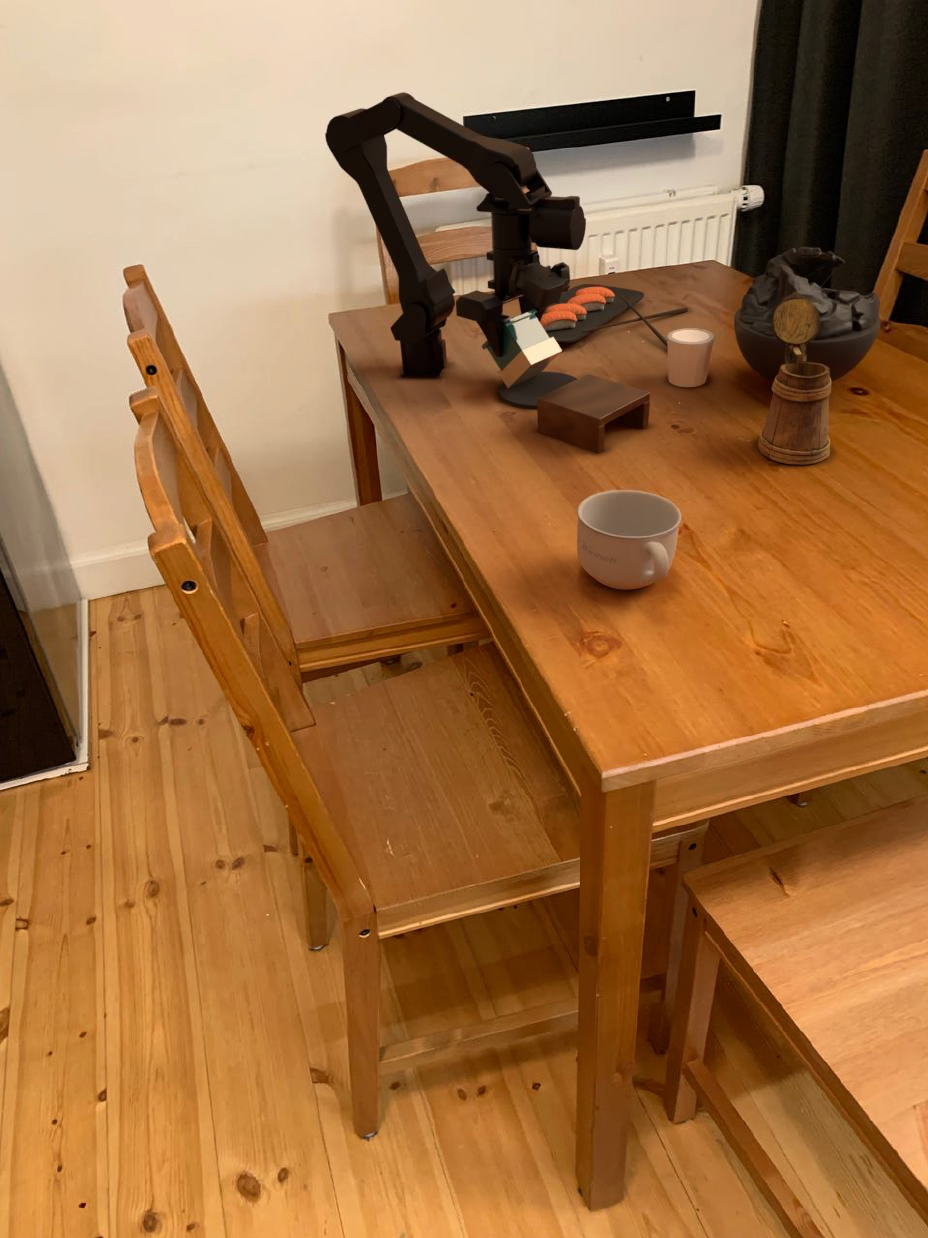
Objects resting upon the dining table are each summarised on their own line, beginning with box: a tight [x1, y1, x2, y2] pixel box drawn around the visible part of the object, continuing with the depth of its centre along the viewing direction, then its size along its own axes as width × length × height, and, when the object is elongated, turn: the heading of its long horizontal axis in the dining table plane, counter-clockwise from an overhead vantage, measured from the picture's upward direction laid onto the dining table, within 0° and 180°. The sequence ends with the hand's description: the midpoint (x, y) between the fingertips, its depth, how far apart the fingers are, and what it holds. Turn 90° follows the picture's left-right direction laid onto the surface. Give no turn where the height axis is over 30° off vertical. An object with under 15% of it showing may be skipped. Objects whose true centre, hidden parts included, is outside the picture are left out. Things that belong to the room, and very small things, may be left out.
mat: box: [497, 371, 578, 410], centre depth 146 cm, size 13×13×1 cm
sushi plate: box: [540, 283, 689, 349], centre depth 166 cm, size 29×30×4 cm
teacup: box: [576, 489, 683, 590], centre depth 101 cm, size 14×11×8 cm
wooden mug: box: [757, 292, 832, 465], centre depth 123 cm, size 9×14×18 cm, turn 178°
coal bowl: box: [733, 246, 882, 384], centre depth 138 cm, size 20×20×19 cm
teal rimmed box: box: [481, 309, 563, 388], centre depth 145 cm, size 8×7×7 cm
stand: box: [536, 373, 651, 454], centre depth 134 cm, size 11×11×5 cm
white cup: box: [666, 327, 715, 388], centre depth 145 cm, size 7×7×7 cm
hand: (514, 349), depth 147 cm, fingers closed on teal rimmed box, 7 cm apart
